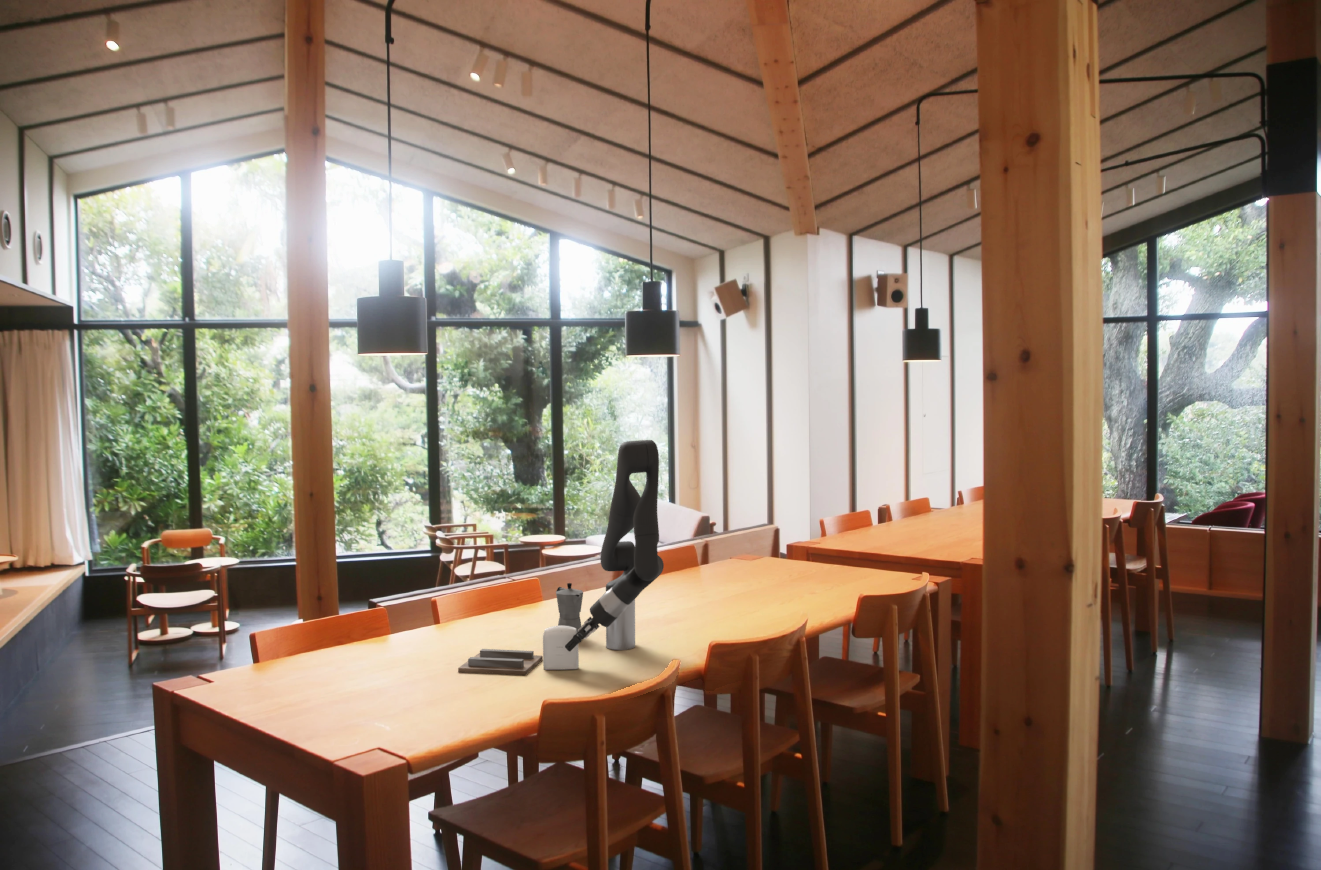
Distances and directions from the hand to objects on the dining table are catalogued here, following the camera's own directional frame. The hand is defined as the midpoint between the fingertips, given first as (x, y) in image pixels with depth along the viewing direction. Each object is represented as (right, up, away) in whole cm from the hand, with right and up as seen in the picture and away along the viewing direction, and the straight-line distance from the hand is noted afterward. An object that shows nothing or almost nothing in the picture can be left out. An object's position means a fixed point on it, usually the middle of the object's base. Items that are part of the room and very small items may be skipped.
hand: (571, 645), depth 249 cm
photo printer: (-3, -7, +1) cm, 8 cm away
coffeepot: (-5, -7, +38) cm, 39 cm away
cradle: (-21, -7, +4) cm, 22 cm away
